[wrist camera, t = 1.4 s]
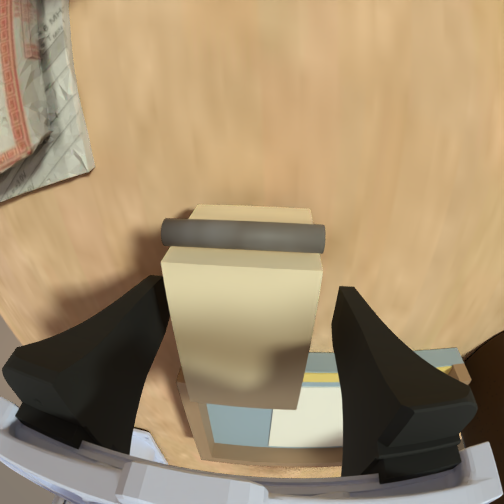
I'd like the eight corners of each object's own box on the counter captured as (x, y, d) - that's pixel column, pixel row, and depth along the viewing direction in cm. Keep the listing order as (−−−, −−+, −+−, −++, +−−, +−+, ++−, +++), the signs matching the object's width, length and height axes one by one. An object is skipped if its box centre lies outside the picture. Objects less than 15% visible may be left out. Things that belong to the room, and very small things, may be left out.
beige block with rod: (294, 321, 17) (296, 410, 12) (213, 316, 17) (190, 401, 12) (309, 176, 13) (327, 237, 8) (203, 172, 13) (155, 230, 8)
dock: (400, 432, 23) (404, 458, 20) (207, 431, 24) (201, 459, 22) (456, 347, 17) (471, 379, 14) (188, 344, 18) (176, 381, 16)
